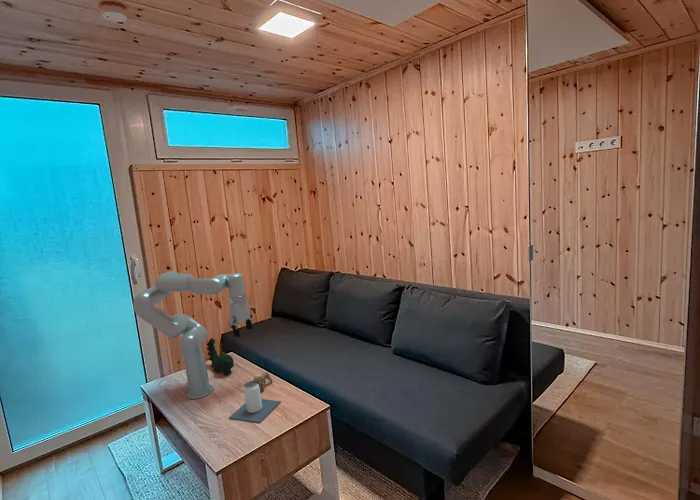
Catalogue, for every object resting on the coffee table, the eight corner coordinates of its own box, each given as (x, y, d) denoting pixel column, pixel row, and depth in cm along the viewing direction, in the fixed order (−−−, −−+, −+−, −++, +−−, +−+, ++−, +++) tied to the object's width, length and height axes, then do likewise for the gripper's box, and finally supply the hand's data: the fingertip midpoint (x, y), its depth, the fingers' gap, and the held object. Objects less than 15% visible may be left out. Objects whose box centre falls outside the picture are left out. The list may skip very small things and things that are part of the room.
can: (258, 413, 163) (254, 387, 162) (244, 413, 165) (240, 387, 163) (264, 405, 170) (260, 380, 168) (251, 405, 171) (247, 380, 169)
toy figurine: (206, 372, 217) (224, 380, 198) (199, 340, 216) (217, 345, 197) (222, 365, 223) (241, 373, 204) (215, 334, 222) (234, 339, 203)
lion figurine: (263, 396, 179) (260, 378, 178) (252, 396, 180) (249, 378, 179) (274, 380, 193) (272, 364, 192) (264, 380, 194) (262, 364, 193)
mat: (229, 418, 163) (228, 417, 163) (251, 398, 178) (251, 397, 178) (260, 423, 157) (259, 422, 157) (280, 402, 171) (280, 401, 171)
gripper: (243, 293, 192) (248, 326, 195) (219, 304, 176) (225, 339, 179) (255, 293, 189) (260, 326, 192) (232, 304, 174) (238, 340, 176)
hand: (243, 332), depth 185 cm, fingers open, 9 cm apart
